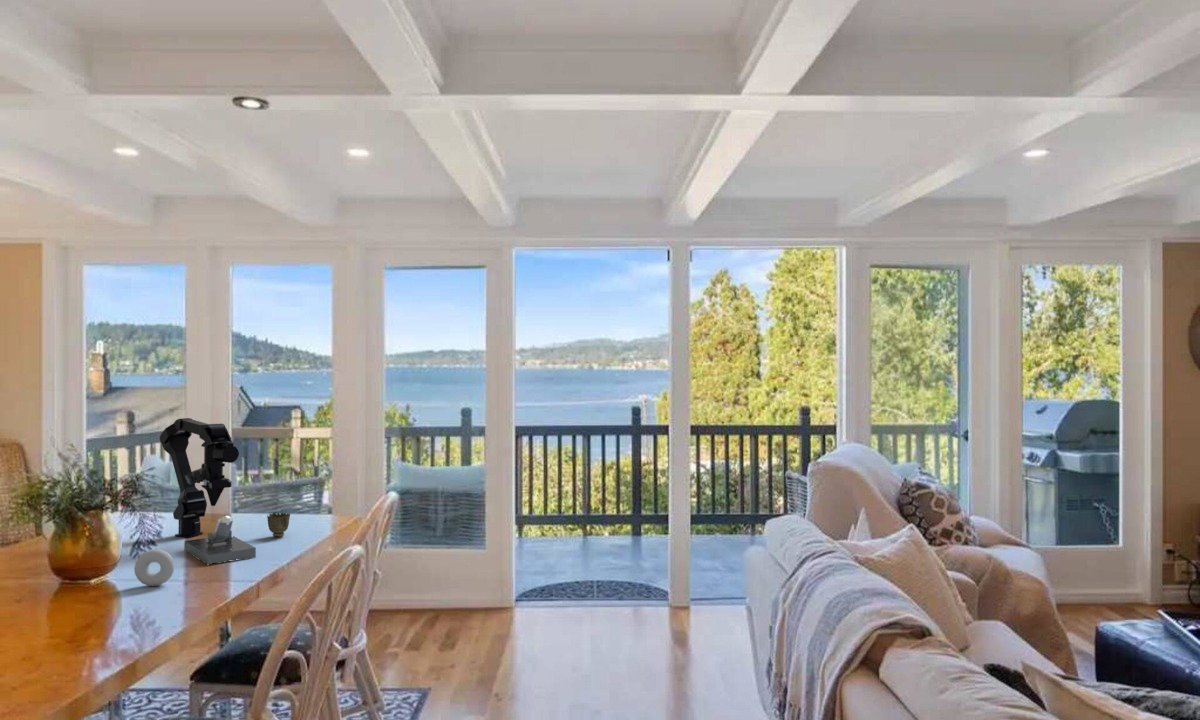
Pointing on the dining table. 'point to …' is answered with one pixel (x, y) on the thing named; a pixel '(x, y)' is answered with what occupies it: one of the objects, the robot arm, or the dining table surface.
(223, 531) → the lever
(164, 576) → the donut
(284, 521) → the cup
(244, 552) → the lever base
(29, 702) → the dining table surface
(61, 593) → the dining table surface
